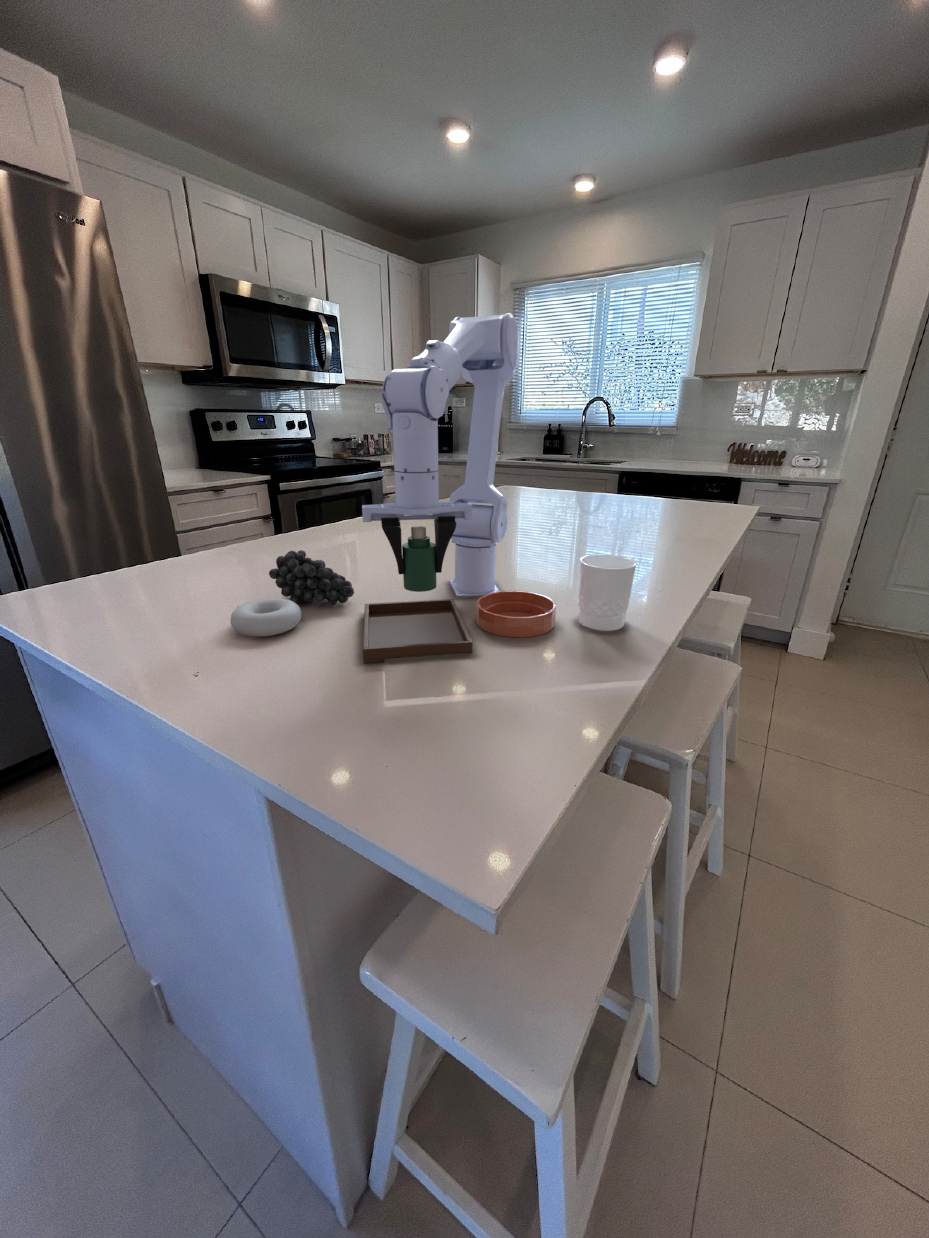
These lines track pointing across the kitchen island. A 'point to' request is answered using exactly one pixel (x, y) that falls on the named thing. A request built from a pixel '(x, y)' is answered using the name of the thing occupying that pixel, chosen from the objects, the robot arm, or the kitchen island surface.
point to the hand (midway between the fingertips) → (419, 571)
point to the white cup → (605, 591)
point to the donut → (265, 617)
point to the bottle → (419, 561)
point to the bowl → (515, 613)
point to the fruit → (309, 579)
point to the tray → (413, 630)
